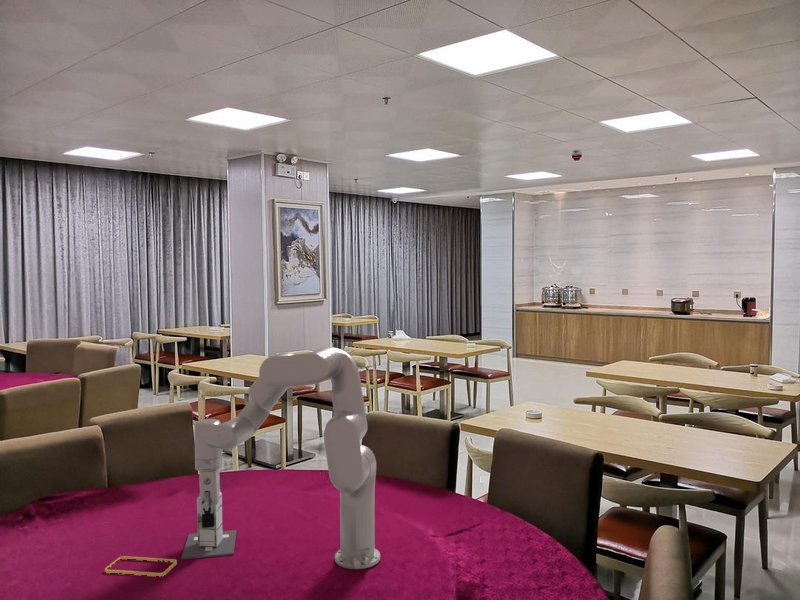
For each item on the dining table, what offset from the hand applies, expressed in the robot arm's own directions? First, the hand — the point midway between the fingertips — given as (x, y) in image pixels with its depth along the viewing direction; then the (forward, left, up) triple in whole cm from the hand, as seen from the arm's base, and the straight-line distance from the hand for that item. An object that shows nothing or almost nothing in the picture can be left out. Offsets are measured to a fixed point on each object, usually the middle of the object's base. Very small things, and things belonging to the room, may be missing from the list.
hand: (209, 520), depth 184 cm
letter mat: (0, 0, -7) cm, 7 cm away
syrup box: (0, 0, -7) cm, 7 cm away
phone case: (-11, +17, -8) cm, 22 cm away
